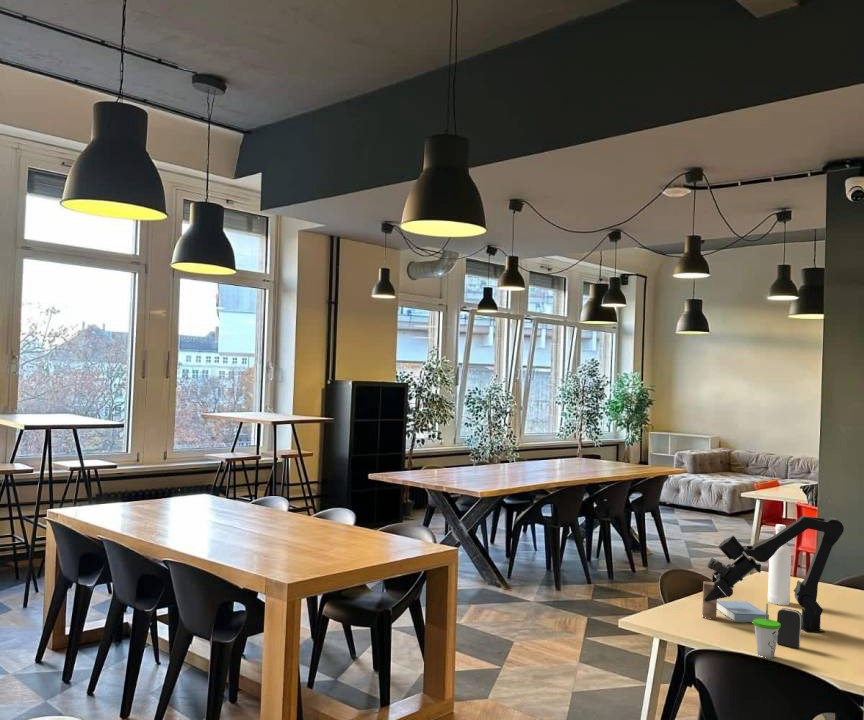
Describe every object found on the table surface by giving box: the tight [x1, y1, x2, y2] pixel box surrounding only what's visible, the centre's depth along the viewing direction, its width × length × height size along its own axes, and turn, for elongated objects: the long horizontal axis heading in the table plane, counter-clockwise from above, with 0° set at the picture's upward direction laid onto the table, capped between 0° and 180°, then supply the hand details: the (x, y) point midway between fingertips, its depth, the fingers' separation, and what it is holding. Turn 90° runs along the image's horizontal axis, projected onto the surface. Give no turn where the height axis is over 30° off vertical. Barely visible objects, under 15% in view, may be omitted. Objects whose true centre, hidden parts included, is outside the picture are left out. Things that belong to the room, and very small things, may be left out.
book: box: [717, 600, 770, 623], centre depth 279 cm, size 17×12×3 cm
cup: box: [752, 603, 781, 660], centre depth 236 cm, size 8×8×15 cm
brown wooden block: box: [701, 580, 718, 620], centre depth 276 cm, size 4×4×12 cm
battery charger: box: [776, 607, 802, 649], centre depth 248 cm, size 7×4×11 cm, turn 52°
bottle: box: [767, 523, 792, 606], centre depth 301 cm, size 8×8×30 cm
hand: (704, 597), depth 276 cm, fingers open, 9 cm apart
